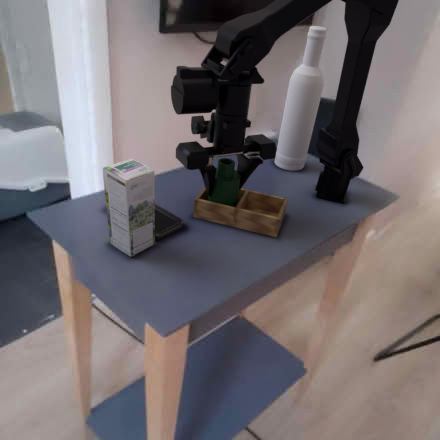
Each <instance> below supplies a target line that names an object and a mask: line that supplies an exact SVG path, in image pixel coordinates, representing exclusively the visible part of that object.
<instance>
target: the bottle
mask: <svg viewBox="0 0 440 440" xmlns="http://www.w3.org/2000/svg"><path fill="white" fill-rule="evenodd" d="M327 31H328V30H327V28H326V27H324V26H319V25H318V26H317V25H311V26H310V27H309V29H308V32H307V39H306V44H305V48H304V53H303V59H302V63H301V64H300V65H299V66H297V67H296V68H295V69H293V72H292V74H291V76H290V78H289V83H288V88H287V93H286V98H285V104H284V108H283V115H282V120H281V125H280V131H279V135H278V142H277V145H276V147H277V152H276V157H275V159H274V164H275V166H276V167H278V168H280V169H281V170H286V171H291V172H296V171H300V170H303V168H305V164H306V162H307V157H308V152H309V147H310V145H311V139H312V136H313V131H314V127H315V123H316V118H317V115H318V111H319V106H320V103H321V99H322V94H323V90H324V85H325V84H324V81H325V80H324V74H323V73H324V72H323V71H322V69H321V67H320V62H321V58H322V57H321V56H322V53H323V48H324V44H325V40H326V39H327Z"/></svg>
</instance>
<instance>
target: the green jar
mask: <svg viewBox="0 0 440 440" xmlns="http://www.w3.org/2000/svg"><path fill="white" fill-rule="evenodd" d="M235 167H236V162H235V160H234V159H232V158H228V157H220V158H219V159H218V160H217V165H216V167H215V168H216V175H215V181H214V187H213V192H212V195H211V196H208V199H207V201H211V202H215V203H219V204H223V205H228V206H232V207H236V206H237V201H238V194H239V186H240V179H241V175H240V173H239V172H238V171H237V169H235Z"/></svg>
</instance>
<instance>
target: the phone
mask: <svg viewBox="0 0 440 440" xmlns="http://www.w3.org/2000/svg"><path fill="white" fill-rule="evenodd" d="M183 228H184V220H183V219H182V218H181V217H179V216H177V215H175V214H173V213H172V212H170V211H168V210H167V209H165V208H163V207H162V206H160V205H158V204H156V203H155V241H161V240H162V239H165V238H166V237H168V236H170V235H172V234H174V233H176V232H178V231H180V230H182V229H183Z"/></svg>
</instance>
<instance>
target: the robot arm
mask: <svg viewBox="0 0 440 440" xmlns="http://www.w3.org/2000/svg"><path fill="white" fill-rule="evenodd" d="M332 1H333V0H274V1H272V2H271V3H269V4H268V5H267V6H266V7H264V8H261V9H259V10H257V11H253V12H250V13H246V14H245V13H244V14H242V15H239V16H237V17H235V18H233V19H231V20H228V21H225V22H224V23H223V24H222V25H220V27H219V28H218V30H217V31H216V37H215V41H214V43H213V45H212V46H211V48H210V49H209V51H208V52H207V54H206V55H205V57H204V59H203V60H202V62H201V63H200V66H186V65H177V66H176V69H175V70H176V72H175V75H174V76H173V79H172V84H171V85H170V98H171V103H172V108H173V111H174V112H175V114H176V115H179V116H180V115H181V116H182V115H191V120H190V131H191V134H192V135H199V138H200V140H201V139H202V140H203V139H206V142H207V143H209V144H212V146H202V144H201V143H199V141H197V140H193V141H184V142H179V143H178V144H177V146H176V148H175V159H177V160H178V161H179V163H180V164H181V165H182V166H183V167H184V168H185V169H186V170H188V171H197V170H198V171H199V173H200V175H201V178H202V181H203V185H204V187H205V188H206V192H207V195H208V196H211V195H212V192H213V187H214V181H215V175H216V168H217V167H216V166H215V165H214V164H213V162H214V158H224V157H230V156H231V157H232V156H236V159H237V166H236V171H238V172H239V173H240V175H241V179H240V186H239V191H240V189H241V188H243V186H244V185H245V184H246V182H247V181H248V179H249V178H250V177H251V176H252V174H253V173H254V172H255V171H256V170H257V168H258V167H259V166H260V165H263V164H264V161H266V160H275V157H276V152H277V143H276V142H275V141H274V140H272V139H270V138H269V137H268V136H266V135H265V134H263V133H259V134H249V135H247V136H246V133H247V128H248V129H249V128H251V126H252V120H250V119H248V117H249V109H250V103H251V102H250V100H251V96H252V87H253V85H262V84H264V83H265V79H264V78H263V76H262V75H261V74H260V72H259V70H258V67H257V66H258V65H259V64H260V63H261V62H262V61H263V60H264V59H265V58H266V57H267V56H268V55H269V54H270V52H271V51H272V49H273V47H274V45H275V43H276V42H278V40H280V38H281V37H283V36H284V35H285V34H287V33H288V32H290V31H291V30H292V29H294V28H295V27H296V26H298V25H300V24H301V23H303V22H304V21H305V20H306V19H308V18H309V17H311V16H313V14H315V13H317V12H318V11H320V10H321V9H322V8H324V7H325V6H327V5H328V4H329V3H331V2H332ZM340 1H342V2H343V3H344V14H343V15H344V16H343V19H344V25H345V29H346V34H347V43H346V47H345V52H344V57H343V61H342V67H341V72H340V77H339V82H338V87H337V91H336V96H335V101H334V106H333V110H332V117H331V119H330V121H329V122H328V123H327V125H326V126H325V127H321V128H319V129H318V132H317V140H316V143H315V145H314V147H315V148H316V153H317V155H318V160H319V164H322V165H323V166H324V167H323V169H321V170H320V171H319V175H318V179H317V182H316V186H315V192H316V194H315V197H316V198H318V199H323V200H327V201H332V202H335V203H336V202H337V203H341V204H345V201H346V195H347V192H348V189H349V186H350V183H351V180H354V178H357V177H360V175H361V173H362V171H363V170H364V165H363V164H362V162H361V159H360V158H359V156H358V154H359V149H360V148H359V146H360V135H359V132H358V131H359V130H358V127H357V121H358V117H359V114H360V109H361V105H362V101H363V97H364V94H365V89H366V86H367V82H368V78H369V73H370V70H371V66H372V61H373V58H374V55H375V49H376V46H377V43H378V40H379V39H380V38H381V36H383V34H384V33H385V31H386V30H387V29H388V28H389V26H390V25H391V22H392V20H393V18H394V14H395V11H396V9H397V6H398V3H399V2H400V0H340ZM222 62H224V63H225V64H224V63H222ZM214 111H215V112H214ZM210 113H211V114H210ZM196 114H197V115H196ZM198 114H199V115H198ZM200 114H210V118H209V119H208V120H205V117H204V115H200Z"/></svg>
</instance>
